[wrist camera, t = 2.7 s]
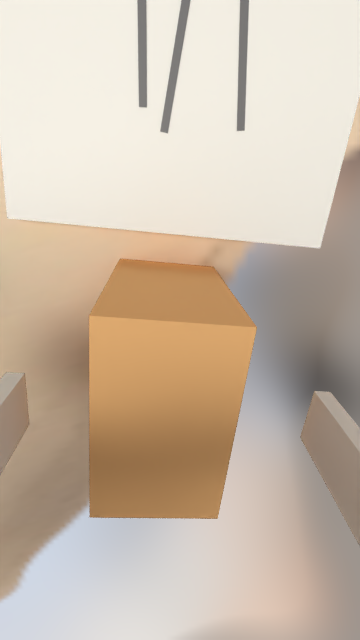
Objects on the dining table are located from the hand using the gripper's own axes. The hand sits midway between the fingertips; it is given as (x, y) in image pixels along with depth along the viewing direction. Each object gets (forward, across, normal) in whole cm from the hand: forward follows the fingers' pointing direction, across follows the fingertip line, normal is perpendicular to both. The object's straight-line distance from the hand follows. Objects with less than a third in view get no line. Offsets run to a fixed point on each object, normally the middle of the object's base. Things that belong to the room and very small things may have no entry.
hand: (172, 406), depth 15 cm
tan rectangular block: (+8, +1, 0) cm, 8 cm away
